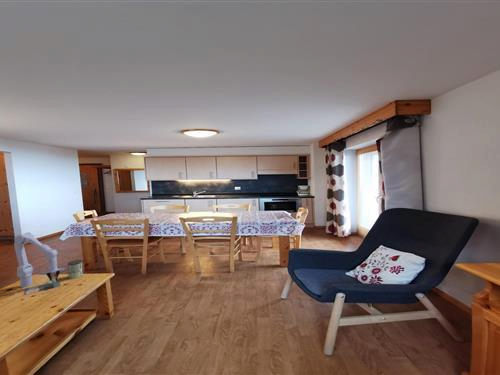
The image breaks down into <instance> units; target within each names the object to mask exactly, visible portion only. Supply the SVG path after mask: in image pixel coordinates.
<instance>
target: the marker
mask: <svg viewBox="0 0 500 375" xmlns="http://www.w3.org/2000/svg"><path fill="white" fill-rule="evenodd" d="M51 281H52V283H54V284H56V283H57V282H56V272H53V273H51Z"/></svg>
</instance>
